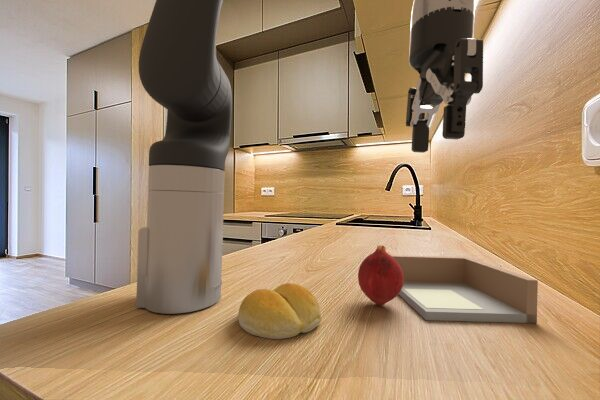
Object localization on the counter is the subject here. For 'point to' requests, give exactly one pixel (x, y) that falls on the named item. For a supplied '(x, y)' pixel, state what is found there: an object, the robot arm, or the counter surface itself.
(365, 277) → the onion
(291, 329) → the bread roll
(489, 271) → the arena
